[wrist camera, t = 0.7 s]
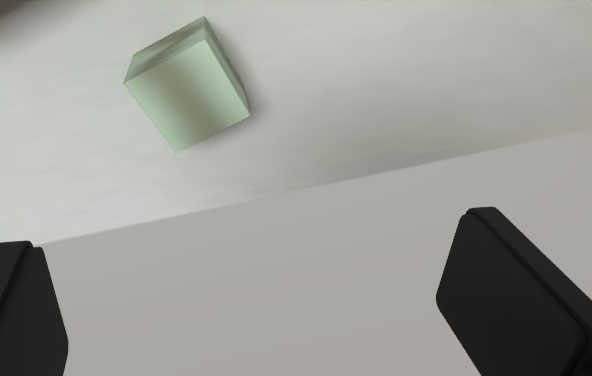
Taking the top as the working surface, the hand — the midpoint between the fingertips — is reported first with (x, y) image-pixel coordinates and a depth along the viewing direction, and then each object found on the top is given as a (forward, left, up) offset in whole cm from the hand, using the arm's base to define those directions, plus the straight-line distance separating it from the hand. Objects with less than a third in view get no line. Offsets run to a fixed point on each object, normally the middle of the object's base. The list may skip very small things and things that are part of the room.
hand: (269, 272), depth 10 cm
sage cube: (+5, +3, -28) cm, 29 cm away
